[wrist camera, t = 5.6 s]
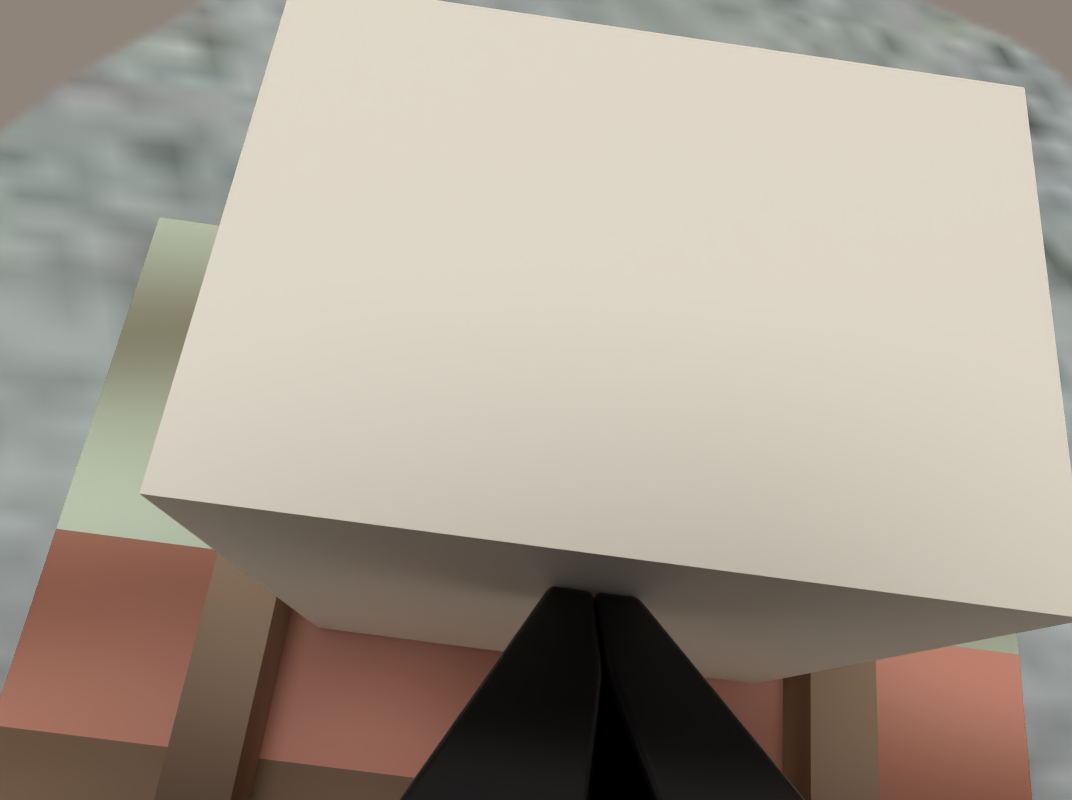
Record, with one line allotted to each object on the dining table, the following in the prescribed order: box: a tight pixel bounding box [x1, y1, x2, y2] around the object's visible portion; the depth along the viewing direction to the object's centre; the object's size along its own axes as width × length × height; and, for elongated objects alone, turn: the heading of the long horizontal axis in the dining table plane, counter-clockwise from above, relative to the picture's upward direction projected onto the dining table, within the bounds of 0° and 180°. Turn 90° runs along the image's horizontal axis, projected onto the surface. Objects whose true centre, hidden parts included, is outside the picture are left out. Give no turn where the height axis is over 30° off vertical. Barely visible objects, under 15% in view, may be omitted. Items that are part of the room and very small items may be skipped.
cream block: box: [139, 0, 1072, 684], centre depth 11 cm, size 5×7×8 cm
